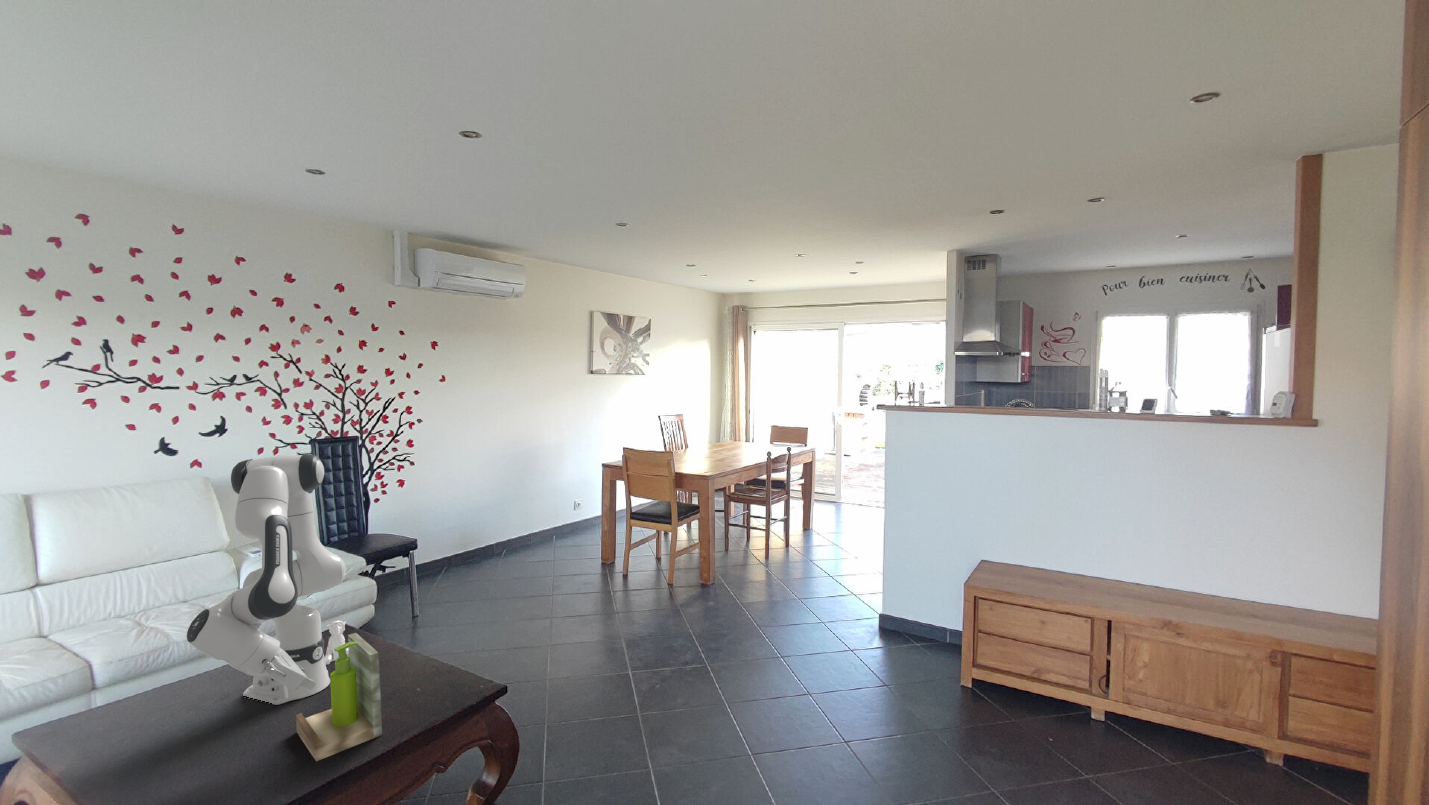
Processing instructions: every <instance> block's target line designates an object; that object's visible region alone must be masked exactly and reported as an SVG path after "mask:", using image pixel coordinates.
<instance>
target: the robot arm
mask: <svg viewBox="0 0 1429 805" xmlns="http://www.w3.org/2000/svg"><path fill="white" fill-rule="evenodd" d="M230 474H231V475H230V483H231V487H232V490H233V491H234V492H235V493H236V494H238V497H237V503H236V508H235V516H234V519H235V528H236V530H237V531H238V532H239V533H240V534H241V535H242V536H245V537H246V538H249V539H253V540H257V541H258V540H259V541H260V543H261V568H257V569H256V570H253V571H250V572H249V573H248V574H247V576H246V577H245V578H244V581H243V583H242V587H241V588H239V589H237V590H234V591H233V592H231V593H229V595H228V596H226V598H225V599H223V600H222V601H220V602H219V603H217V604H215V605H213V606H212V607H209V608H206V609H204V610H202V611H200V612H199V613H197V615H196V617H195V618H194V619H193V620H192V621H191V623H190V625H189V626H188V628H187V631H186V640H187V642H188V644H190V646H192V647H193V648H195V649H196V650H197V651H198V652H201V653H203V654H204V655H206V656H208V657H210V658H212V659H214V660H217V661H223V662H226V663H227V664H228V665H229V666H230V668H231V667H232V668H233V669H236V671H237V670H238V671H239V672H241V673H243V674H246V675H248V676H249V677H253V679H252V684H251V685H250V686H248V687H247V688H246V689H245V690H244V691H243V694H242V697H243V696H247V697H249V698H248V699H250V698H253V699H252V700H254V699H258V700H261V701H260V702H262V701H265V702H264V703H266V702H269V703H268V704H270V703H272V704H271V705H275V706H278V705H281V704H285V703H288V702H291V701H295V700H301V699H304V698H306V697H309V696H312V695H316V694H317V693H319V692H321V691H322V690H324V689H326V688H327V687H328V686H330V675H329V671H328V669H327V664H325V659H324V656H325V654H324V651H325V650H324V649H325V640H324V636H323V635H322V619H321V617H322V616H321V614H320V612H319V610H317V609H316V608H313V607H311V606H307V605H302V604H301V605H300V604H297V601H298V598H301V597H305V596H310V595H313V594H317V593H322V592H325V591H328V590H330V589H333V588H335V587H338V586H339V585H341V584H342V582H343V581H344V579H345V577H346V573H347V567H346V566H347V565H346V563H345V561H344V560H343V559H342V558H341V557H340V555H338V554H336V553H334V552H331V551H330V550H328V549H327V548H326V547H325V546H324V545H323V544H322V542H321V541H320V539H319V537H318V532H317V527H316V526H317V525H316V522H315V510H314V509H315V508H314V500H313V496H312V494H313V492H314V490H317V489H319V487H320V486H321V484H322V483H323V480H324V477H325V467H324V464H323V461H322V459H321V458H320V457H318V455H315V454H311V453H310V454H309V453H308V454H307V453H305V454H281V455H276V456H267V457H262V458H261V457H260V458H256V459H253V458H250V459H246V460H242V461H239V462H238V463H237V464H235V466H234V467H233V468H232V470H231V473H230ZM293 552H295V555H296V559H293V555H294V554H293ZM269 620H273V623H274V628H275V633H276V638H275V637H272V636H270V634H269V635H268V634H267V633H265V632H263V631H261V630H260V626H261V624H262V623H264V622H267V621H269ZM258 700H257V701H258Z"/></svg>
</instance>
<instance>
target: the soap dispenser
mask: <svg viewBox="0 0 1429 805" xmlns="http://www.w3.org/2000/svg"><path fill="white" fill-rule="evenodd" d="M357 644H358V642H348V641H347V642H345V644H343V645H341V646H339V647H337V648H335V651H337V652H338V655H339V658H337V659H336V660H335V661H334V668H335V670H334V671H332V672H331V673H330V675H329V678H330V684H329V686H330V703H331V709H332V724H333V726H336V727H342V726H346V725H349V724H352V723H353V722H355V721H356V720H357V719H358V701H357V679H356V668H354V667H350V657H349V656H346V649H347V648H349V647H351V646H354V645H357Z"/></svg>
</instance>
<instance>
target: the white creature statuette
mask: <svg viewBox="0 0 1429 805" xmlns="http://www.w3.org/2000/svg"><path fill="white" fill-rule="evenodd" d="M346 622H347V620H345V621H342V620H335V621H332V622H331V623H330V624H326V625H325V626H326V627H327V628H328V630H329V633H330V635H331V636H330V637H328V643H327V647H326V651H325V654H324V659H325V664H326V666H328V665H329V664H331V663H332V662H335V660H336V659H337V658H339V655H338V652H337V651H335V648H337V647H339V646H341V645H343V644H345V643H346V639H345V636H344V634H343V633H344V631H345V630H346V628H345V626H346ZM346 656H349V649H348V648H347V649H346Z"/></svg>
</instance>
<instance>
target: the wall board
mask: <svg viewBox="0 0 1429 805" xmlns="http://www.w3.org/2000/svg"><path fill="white" fill-rule="evenodd" d="M348 642H358V644H357V645H354V646H351V647H349V648H348V649H349V657H350V667H354V668H356V679H357V701H358V719H357V720H356V721H355V722H353V723H352V724H349V725H346V726H342V727H336V726H333V724H332V708H330V709H327V710H324V711H322V712H318V713H315V714H312V715H310V716H308V717H305V715H303V713H302V712H300V713H298V714H295V722H296V724H295V725H296V733H297V735H298V734H299V735H298V737H299V738H300V740H301V741H302V742H303V744H304V746H305V747H306V749H307V750H308V752H309V753H310V754H311V756H312V757H313V759H314V761H315V762H319V761H320V760H323V759H326V758H328V757H331V756H333V755H336V754H338V753H341V752H343V751H345V750H348V749H351V748H353V747H356V746H358V745H360V744H361V745H362V743H366V742H368V741H370V740H373V739H375V738H378V737H381V736H382V735H383V726H382V701H381V700H382V699H381V698H382V696H381V680H380V678H381V677H380V660H379V659H380V658H379V656H380V655H379V652H378V651H377V650H376V649H375V648H374V647H373V646H372V645H371V644H370V643H368V642H367V641H366V640H365V639H364V638H362V637H361V635H359V634H358V633H357V632H354V633H353V632H352V633H350V634H347V643H348Z"/></svg>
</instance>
